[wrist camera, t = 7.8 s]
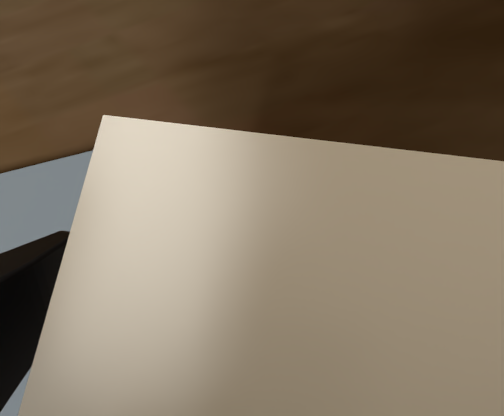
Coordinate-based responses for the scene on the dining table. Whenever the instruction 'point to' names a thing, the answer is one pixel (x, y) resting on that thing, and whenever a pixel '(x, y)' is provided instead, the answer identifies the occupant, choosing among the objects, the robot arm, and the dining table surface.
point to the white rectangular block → (274, 280)
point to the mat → (38, 214)
